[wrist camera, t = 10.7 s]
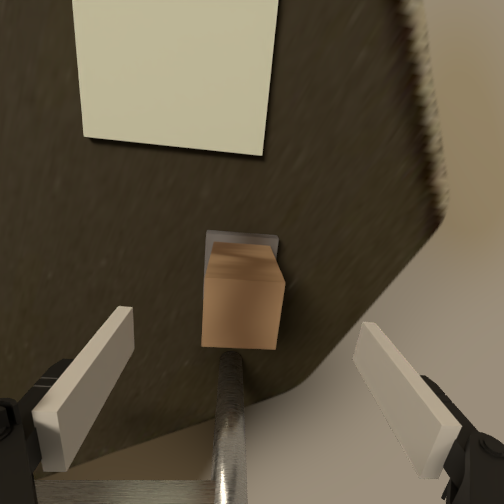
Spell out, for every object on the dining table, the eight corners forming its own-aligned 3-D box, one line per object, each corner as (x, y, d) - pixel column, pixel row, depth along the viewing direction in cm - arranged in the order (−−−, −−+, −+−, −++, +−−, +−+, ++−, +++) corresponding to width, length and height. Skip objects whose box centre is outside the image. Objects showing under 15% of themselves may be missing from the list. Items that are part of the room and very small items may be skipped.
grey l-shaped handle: (241, 369, 30) (246, 557, 16) (62, 363, 28) (-111, 566, 14) (243, 351, 29) (251, 531, 15) (59, 343, 28) (-127, 538, 13)
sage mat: (87, 137, 22) (83, 136, 21) (68, -99, 18) (63, -107, 17) (261, 155, 23) (262, 155, 23) (283, -60, 19) (285, -67, 18)
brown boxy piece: (204, 293, 27) (190, 354, 18) (207, 229, 25) (193, 266, 16) (268, 296, 27) (284, 358, 19) (276, 235, 25) (298, 273, 17)
